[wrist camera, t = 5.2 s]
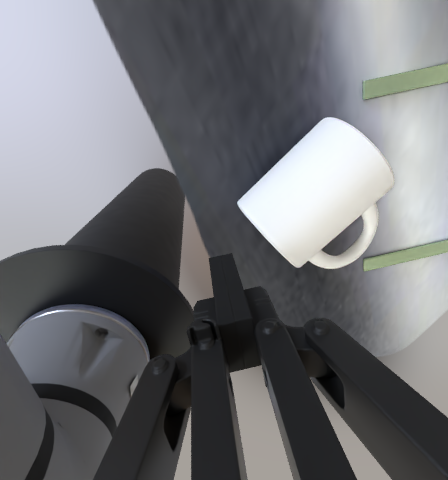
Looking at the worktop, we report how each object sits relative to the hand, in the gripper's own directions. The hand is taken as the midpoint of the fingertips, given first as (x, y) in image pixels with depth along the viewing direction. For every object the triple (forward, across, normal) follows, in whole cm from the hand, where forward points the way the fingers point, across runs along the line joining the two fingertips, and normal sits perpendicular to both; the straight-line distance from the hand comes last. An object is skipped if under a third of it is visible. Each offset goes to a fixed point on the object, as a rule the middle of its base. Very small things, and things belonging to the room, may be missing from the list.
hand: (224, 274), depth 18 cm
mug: (+11, +10, 0) cm, 15 cm away
